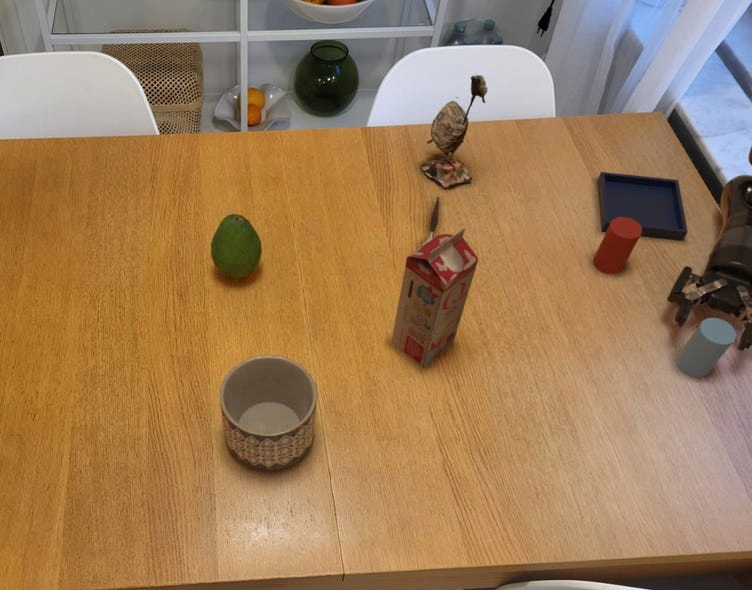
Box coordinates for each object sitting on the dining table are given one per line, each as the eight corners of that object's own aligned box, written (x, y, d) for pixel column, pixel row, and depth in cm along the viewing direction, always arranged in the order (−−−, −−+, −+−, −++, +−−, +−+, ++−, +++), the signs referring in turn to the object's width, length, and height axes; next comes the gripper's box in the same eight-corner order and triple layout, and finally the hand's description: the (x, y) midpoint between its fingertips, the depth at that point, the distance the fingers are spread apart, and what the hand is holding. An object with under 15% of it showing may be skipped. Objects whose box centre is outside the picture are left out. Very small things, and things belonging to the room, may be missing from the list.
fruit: (232, 246, 128) (228, 191, 118) (271, 265, 125) (270, 211, 115) (204, 275, 124) (197, 221, 114) (243, 296, 121) (239, 242, 111)
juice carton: (452, 344, 115) (483, 240, 97) (423, 368, 113) (449, 266, 94) (420, 319, 118) (444, 214, 100) (391, 342, 115) (410, 238, 97)
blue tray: (673, 188, 134) (678, 179, 132) (682, 240, 127) (687, 232, 125) (597, 180, 136) (600, 171, 134) (601, 231, 128) (605, 222, 127)
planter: (211, 415, 108) (205, 374, 100) (291, 385, 111) (292, 342, 103) (245, 488, 102) (241, 449, 93) (329, 454, 104) (333, 414, 96)
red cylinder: (622, 254, 125) (640, 218, 119) (624, 275, 122) (643, 240, 116) (592, 251, 126) (609, 215, 119) (593, 272, 123) (611, 236, 116)
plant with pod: (453, 147, 142) (475, 47, 125) (475, 186, 135) (501, 87, 119) (412, 153, 141) (429, 54, 124) (432, 193, 134) (453, 94, 118)
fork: (445, 200, 133) (447, 191, 132) (434, 264, 125) (436, 255, 123) (430, 197, 134) (432, 189, 132) (418, 261, 125) (420, 253, 123)
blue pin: (707, 353, 113) (733, 320, 107) (712, 379, 111) (739, 346, 104) (674, 349, 114) (698, 315, 107) (677, 374, 111) (702, 341, 105)
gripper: (699, 228, 115) (672, 298, 107) (799, 262, 110) (779, 338, 102) (678, 263, 121) (651, 331, 113) (772, 296, 116) (751, 370, 109)
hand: (712, 334), depth 108 cm, fingers open, 8 cm apart
